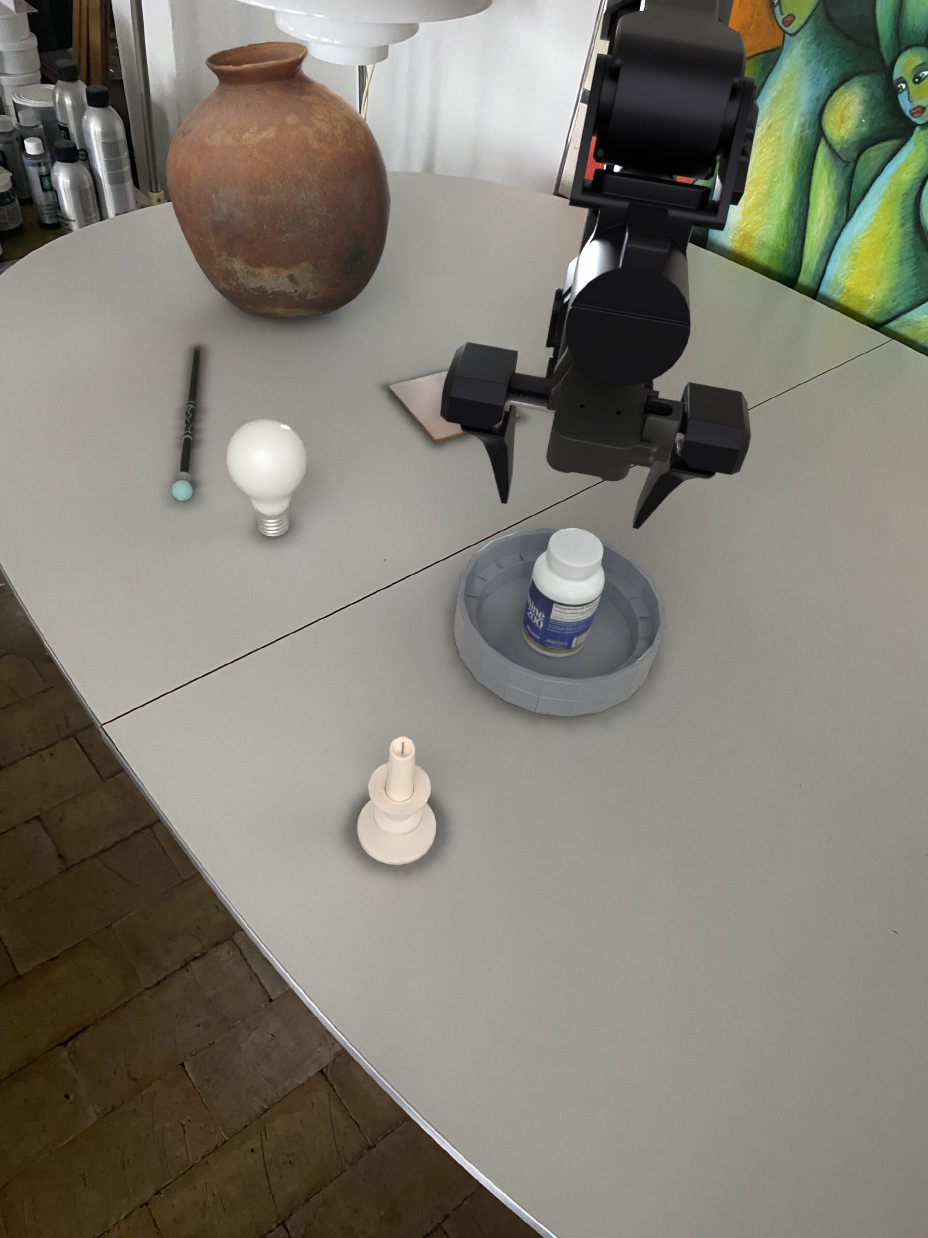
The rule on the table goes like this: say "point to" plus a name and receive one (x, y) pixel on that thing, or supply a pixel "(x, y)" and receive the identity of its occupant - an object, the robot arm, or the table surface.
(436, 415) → the coaster
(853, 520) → the table surface
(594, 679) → the basin
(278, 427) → the lightbulb
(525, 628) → the pill bottle
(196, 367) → the magic wand
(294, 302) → the pottery
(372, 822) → the candle
